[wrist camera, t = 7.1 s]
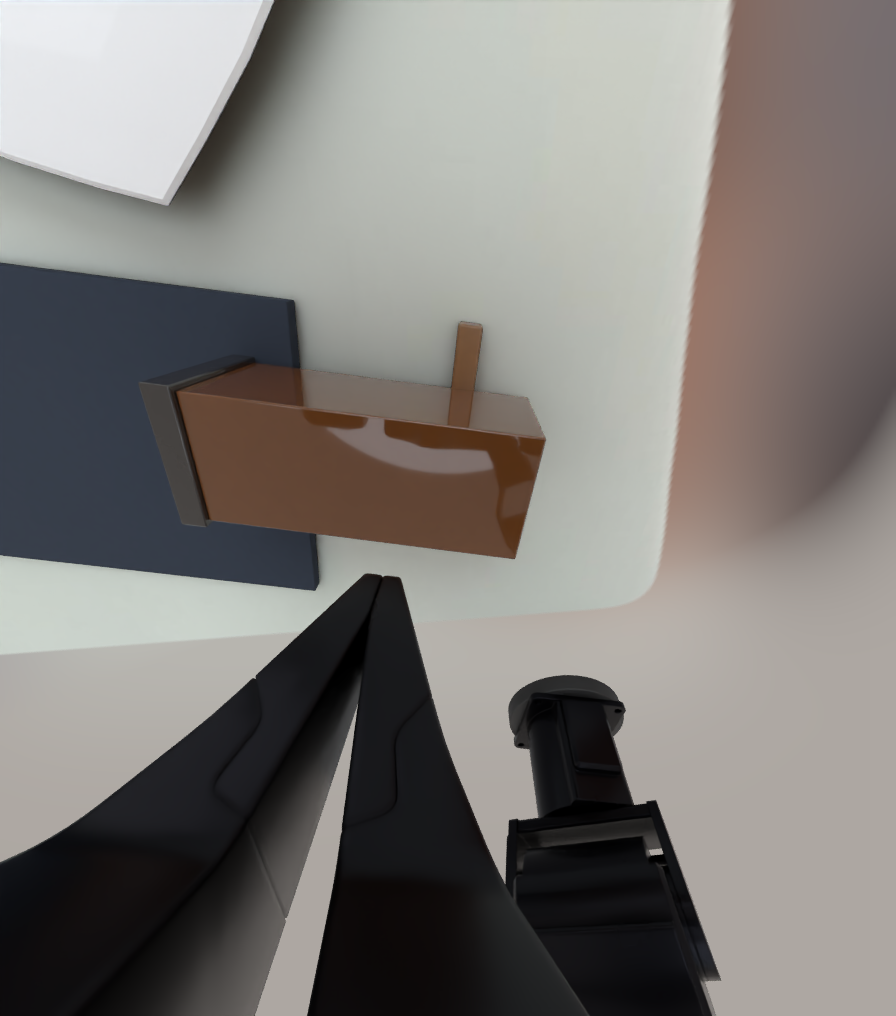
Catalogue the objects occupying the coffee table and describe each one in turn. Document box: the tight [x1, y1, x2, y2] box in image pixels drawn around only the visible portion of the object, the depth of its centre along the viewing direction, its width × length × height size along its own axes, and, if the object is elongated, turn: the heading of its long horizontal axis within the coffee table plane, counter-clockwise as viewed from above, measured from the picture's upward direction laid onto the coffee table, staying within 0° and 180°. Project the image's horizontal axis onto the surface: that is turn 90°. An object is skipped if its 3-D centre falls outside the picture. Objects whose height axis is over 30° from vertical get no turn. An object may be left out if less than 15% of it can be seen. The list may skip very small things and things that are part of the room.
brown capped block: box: [138, 354, 546, 559], centre depth 15 cm, size 5×5×13 cm
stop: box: [451, 321, 483, 391], centre depth 18 cm, size 10×1×1 cm, turn 174°
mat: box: [0, 263, 319, 591], centre depth 19 cm, size 16×30×1 cm, turn 84°
